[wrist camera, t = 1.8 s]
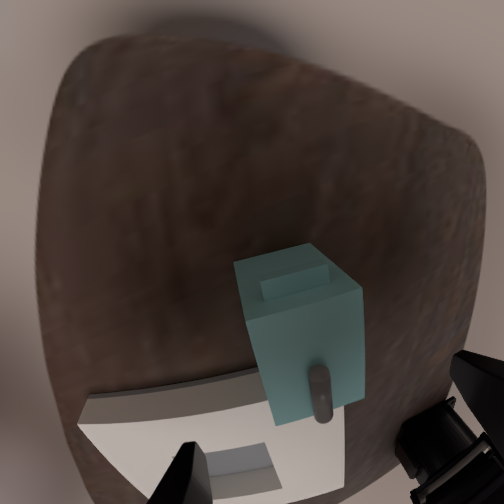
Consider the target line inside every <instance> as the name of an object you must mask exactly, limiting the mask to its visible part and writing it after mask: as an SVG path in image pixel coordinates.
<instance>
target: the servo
mask: <svg viewBox="0 0 504 504" xmlns="http://www.w3.org/2000/svg"><path fill="white" fill-rule="evenodd" d="M233 264H234V269H235V274H236V279H237V284H238V289H239V294H240V299H241V304H242V308H243V313H244V318H245V322H246V326H247V330H248V333H249V337H250V340H251V344H252V347H253V351H254V354H255V358H256V361H257V365H258V368H259V372H260V375H261V379H262V382H263V386H264V389H265V392H266V396H267V399H268V403H269V406H270V409H271V413H272V416H273V419H274V423H275V426H279V425H283V424H287V423H290V422H294V421H298V420H301V419H304V418H308V417H311V416H314V418H315V420H316V421H317V422H318V423H320V424H326V423H328V422H330V421H331V420H332V418H333V409H336V408H339V407H341V406H344V405H347V404H350V403H352V402H355V401H358V400H360V399H363V398H365V329H364V307H363V290H362V287H361V286H360V285H359V284H357V283H356V282H355V281H354V280H353V279H352V278H351V277H349V276H348V275H347V274H346V273H345V272H344V271H342V270H341V269H340V268H339V267H338V266H337V265H335V264H334V263H333V262H332V261H331V260H330V259H328V258H327V257H326V256H325V255H324V254H322V253H321V252H320V251H319V250H318V249H317V248H315V247H314V246H313V245H312V244H311V243H306V244H302V245H298V246H295V247H291V248H287V249H283V250H279V251H275V252H271V253H267V254H263V255H259V256H255V257H251V258H247V259H243V260H239V261H235V262H233Z"/></svg>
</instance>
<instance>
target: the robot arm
mask: <svg viewBox="0 0 504 504" xmlns="http://www.w3.org/2000/svg"><path fill="white" fill-rule="evenodd" d="M450 376H451V378H452V380H453V381H454V383H455V385H456V386H457V388H458V390H459V391H460V393H461V395H462V397H463V399H464V401H465V402H466V404H467V405H468V407H469V408H470V410H471V412H472V413H473V414H474V416H475V417H476V419H477V420H478V421H479V423H480V424H481V426H482V427H483V429H484V430H485V431H486V433H487V434H486V433H485V432H483V433H482V434H481V435H480V437H479V438H477V436H476V435H475V434H474V433H473V432H472V430H471V429H470V428H469V427H468V426H467V425H466V423H465V422H464V421H463V420H462V419H461V418H460V416H459V415H458V414H457V413H456V412H455V411H454V409H453V408H454V405H455V402H456V398H455V397H454V396H452V397H451V398H449V399H447V400H446V401H444V402H442V403H440V404H439V405H437V406H435V407H433V408H432V409H430V410H428V411H426V412H424V413H422V414H421V415H419V416H417V417H415V418H413V419H411V420H409V421H407V422H405V423H404V424H403V425H402V427H401V432H400V436H399V440H398V444H397V447H396V451H395V456H396V457H397V458H398V459H399V461H400V462H401V464H402V466H403V467H404V469H405V471H406V472H407V474H408V476H409V478H410V479H414V478H416V479H417V481H418V483H419V484H420V486H419V487H418V488H416V489H413V490H412V491H410V494H411V496H410V498H411V500H412V502H413V504H504V361H502V360H498V359H494V358H491V357H487V356H483V355H480V354H477V353H473V352H469V351H466V350H461V351H459V352H457V353H455V354H454V355H453V358H452V362H451V367H450ZM487 448H488V449H489V450H488V451H487V452H486V454H484V452H483V451H485V450H486V449H487ZM146 504H213V497H212V491H211V485H210V479H209V473H208V466H207V460H206V456H205V454H204V452H203V451H202V449H201V448H200V446H199V445H198V443H197V442H196V441H190V442H184V443H183V444H182V445H181V447H180V449H179V450H178V452H177V454H176V455H175V457H174V459H173V461H172V462H171V464H170V466H169V467H168V469H167V471H166V472H165V474H164V476H163V477H162V479H161V481H160V482H159V484H158V485H157V487H156V489H155V490H154V492H153V494H152V495H151V497H150V498H149V500H148V502H147V503H146Z"/></svg>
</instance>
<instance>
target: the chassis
mask: <svg viewBox="0 0 504 504" xmlns="http://www.w3.org/2000/svg"><path fill="white" fill-rule="evenodd" d="M77 425H78V426H79V427H80V429H81V430H82V431H83V432H84V434H85V435H86V436H87V437H88V438H89V440H90V441H91V442H92V443H93V444H94V445H95V446H96V448H97V449H98V450H99V451H100V452H101V453H102V454H103V455H104V456H105V457H106V458H107V460H108V461H109V462H110V463H111V464H112V465H113V466H114V467H115V468H116V469H117V470H118V471H119V472H120V473H121V474H122V475H123V476H124V477H125V478H126V479H127V480H128V481H129V482H131V483H132V484H133V485H134V486H135V487H136V488H137V489H138V490H139V491H140V492H141V493H143V494H144V495H145V496H146V497H147V498H148V499H149V498H150V497H151V495H152V494H153V492H154V490H155V489H156V487H157V485H158V484H159V482H160V481H161V479H162V477H163V476H164V474H165V472H166V471H167V469H168V467H169V466H170V464H171V462H172V461H173V459H174V457H175V455H176V454H177V452H178V450H179V449H180V447H181V445H182V444H183V443H184V442H190V441H196V442H197V443H198V445H199V446H200V448H201V449H202V451H203V452H204V454H205V456H206V460H207V466H208V473H209V479H210V485H211V491H212V497H213V504H287V503H291V502H295V501H299V500H303V499H306V498H310V497H314V496H317V495H320V494H324V493H327V492H330V491H333V490H336V489H339V488H342V487H344V457H345V439H344V406H341V407H339V408H336V409H333V418H332V420H331V421H330V422H328V423H326V424H320V423H318V422H317V421H316V420H315V418H314V416H311V417H308V418H304V419H301V420H298V421H294V422H290V423H287V424H283V425H279V426H275V423H274V419H273V416H272V413H271V409H270V406H269V403H268V399H267V396H266V392H265V389H264V386H263V382H262V379H261V375H260V372H259V368H258V367H255V368H251V369H247V370H243V371H239V372H234V373H230V374H225V375H221V376H216V377H211V378H206V379H201V380H195V381H190V382H184V383H179V384H173V385H166V386H160V387H153V388H146V389H138V390H130V391H122V392H112V393H101V394H90V395H89V397H88V399H87V401H86V404H85V406H84V409H83V411H82V413H81V416H80V418H79V421H78V423H77Z"/></svg>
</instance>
